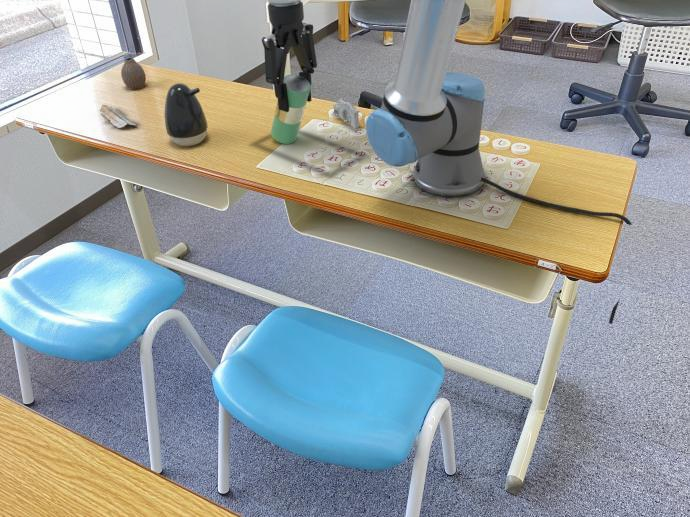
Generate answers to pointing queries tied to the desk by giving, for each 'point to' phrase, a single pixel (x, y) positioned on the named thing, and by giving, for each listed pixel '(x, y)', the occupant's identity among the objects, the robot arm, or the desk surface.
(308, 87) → the can
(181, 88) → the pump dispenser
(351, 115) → the garden wall model
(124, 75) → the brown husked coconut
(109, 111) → the fossil
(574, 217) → the desk surface
